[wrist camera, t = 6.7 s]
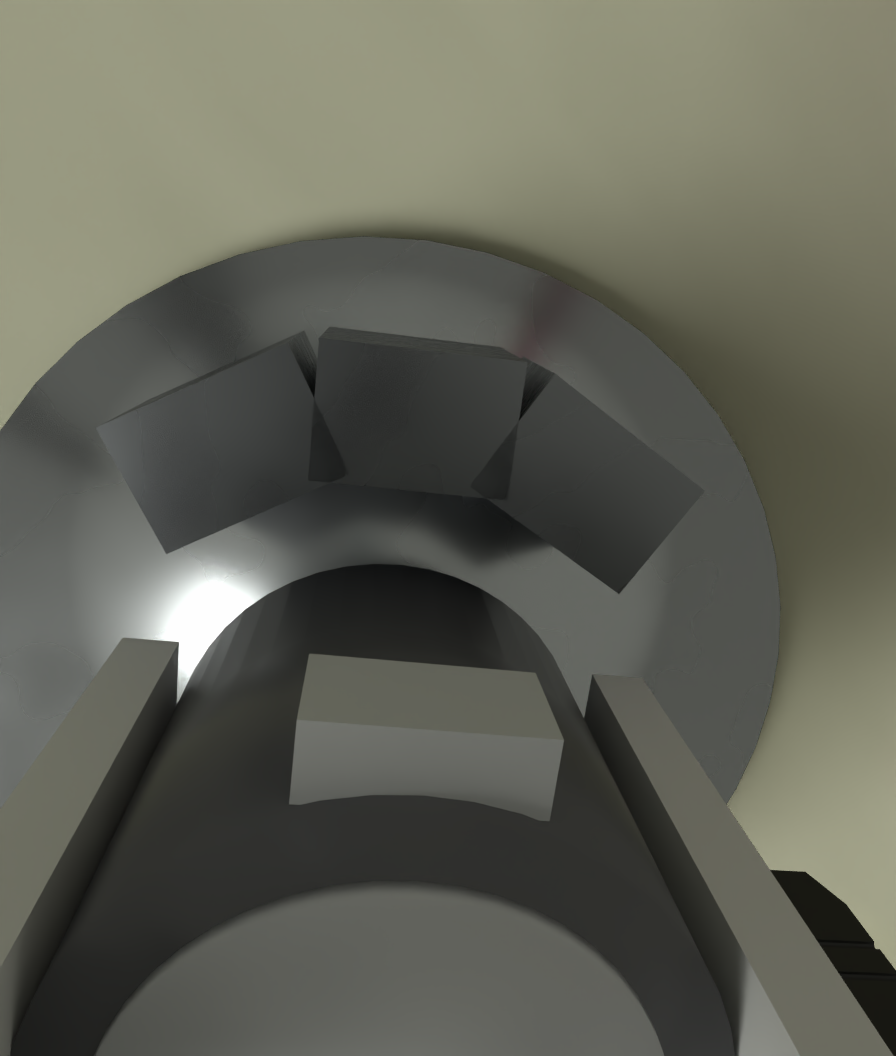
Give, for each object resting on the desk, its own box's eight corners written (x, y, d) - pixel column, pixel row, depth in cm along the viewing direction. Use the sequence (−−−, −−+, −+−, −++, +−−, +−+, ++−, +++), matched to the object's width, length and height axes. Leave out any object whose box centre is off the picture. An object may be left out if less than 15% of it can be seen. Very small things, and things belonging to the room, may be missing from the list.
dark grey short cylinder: (186, 505, 12) (-16, 724, 6) (613, 548, 12) (839, 786, 6) (163, 944, 13) (-10, 1466, 7) (538, 961, 14) (659, 1454, 8)
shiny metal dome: (-59, 177, 12) (-191, 147, 9) (853, 298, 14) (978, 303, 11) (-29, 970, 16) (-117, 1121, 13) (683, 995, 18) (743, 1134, 15)
